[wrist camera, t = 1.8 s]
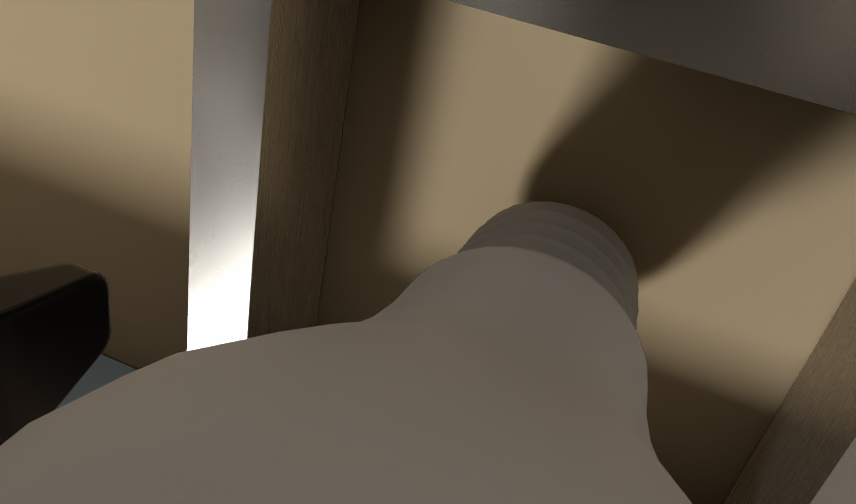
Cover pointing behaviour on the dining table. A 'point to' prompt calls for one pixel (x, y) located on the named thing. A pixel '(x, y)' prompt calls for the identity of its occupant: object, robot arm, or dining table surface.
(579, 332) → the lightbulb
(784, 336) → the dining table surface
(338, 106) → the socket collar
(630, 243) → the dining table surface
